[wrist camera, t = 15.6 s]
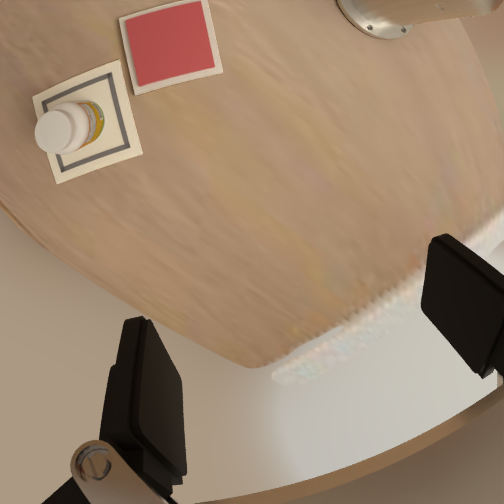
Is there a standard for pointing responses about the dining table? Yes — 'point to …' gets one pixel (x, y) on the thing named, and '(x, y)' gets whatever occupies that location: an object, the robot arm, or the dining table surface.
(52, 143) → the supplement bottle
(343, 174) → the dining table surface
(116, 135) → the marked sheet
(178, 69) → the ink pad
